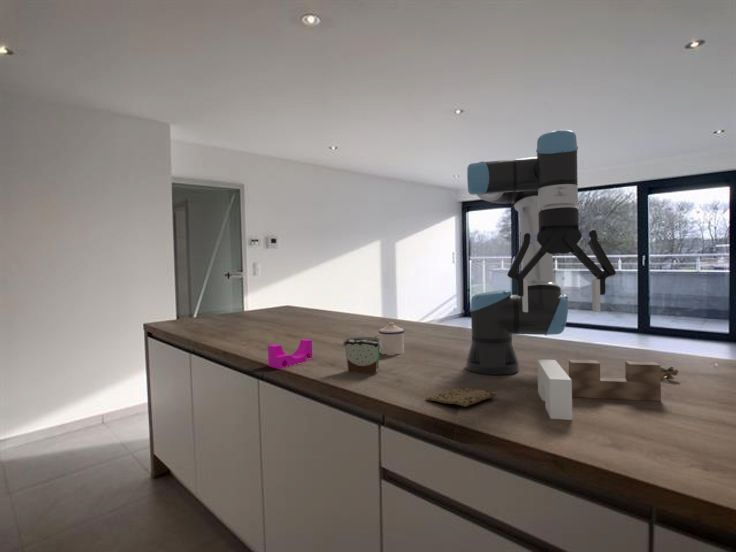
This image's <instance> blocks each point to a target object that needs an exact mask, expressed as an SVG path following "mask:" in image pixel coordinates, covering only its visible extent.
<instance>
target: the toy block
mask: <svg viewBox="0 0 736 552" xmlns="http://www.w3.org/2000/svg"><path fill="white" fill-rule="evenodd" d="M267 356H268V357H267V360H268V361H267V362H268V363H267V365H268V367H271V368H274V369H277V370H282V369H281V368H283V367H287V366H290V365H294V364H298V363H302V362H306V363H307V360H306V359H307V358H312V359H313V340H312V339H308V338H303V339H300V341H299V345H298V348H297V349H296V350H295V351H294V352H293V353H292V354H288V353H287V354H286V353H285V352H284V350H283V347H282V345H280V344H275V343H274V344H270V345H269V344H268V345H267ZM306 357H307V358H306ZM287 368H288V367H287ZM283 369H284V368H283Z"/></svg>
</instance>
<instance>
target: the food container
mask: <svg viewBox="0 0 736 552" xmlns="http://www.w3.org/2000/svg"><path fill="white" fill-rule="evenodd" d="M343 340H344V341H343V344H342V346H343V347H344V350H345V357H346V366H347V371H348V372H352V371H357V372H356V373H361V372H365V373H364V374H370V373H372V375H378V372H379V361H380V348H381V347H382V345H381V341H380V338H379V337H376V338H374V336H373V337H372V336H357V337H349V338H345V339H343Z"/></svg>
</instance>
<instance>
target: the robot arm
mask: <svg viewBox="0 0 736 552" xmlns="http://www.w3.org/2000/svg"><path fill="white" fill-rule="evenodd" d="M536 140H537V141H536V151H535V153H536V156H533V157H523V158H514V159H502V160H491V161H479V162H474V163H473V162H472V163H470V164H468V165H467V170H466V171H467V172H466V175H467V178H466V179H467V191H468V193H469V195H473V196H474V195H476V196H477V197H478V198H480V200H483V201H486V202H489V203H493V204H503V205H504V204H513V209H514V210H515V211H516V212H517V213H519V224H520V225H519V227H520V244H521V246H520V248H519V250H518V252H517V254H516V256H515V257H514V260H513V262H512V264H511V266H510V269H508V271H507V277H508V278H510V279H513V280H515V281H516V294H512V291H511V290H510V289H503V290H501V289H500V290H494V291H486V292H481V293H477V294H474V295H472V297H471V299H470V300H471V301H470V312H471V313H470V314H471V318H470V319H471V345H470V347H469V351H468V353H467V357H466V361H465V362H466V363H465V365H466V369H467V370H468V371H470V372H472V373H476V374H483V375H493V376H494V375H495V376H496V375H497V376H498V375H499V376H500V375H501V376H502V375H511V374H515V373H518V372H519V371H520V361H519V358H518V356H517V353H516V351H515V347H514V345H513V335H538V336H539V335H544V336H549V335H550V336H551V335H554V336H555V335H560V334H562V333H563V332H564V330H565V328H566V327H567V326H566V325H567V321H568V312H569V298H568V297H569V296H568V295H567V294H565V293H562V291H561V287H560V285H558V284H557V283H556V282H555V275H554V260H553V259H554V258H553V257H554V256H553V255H556V254H564V255H565V254H569V253H571V254H572V255H573V256H575V257H576V259H578V260H579V262H581V264H583V266H584V267H585V268H586V269H587V270H588V271H589V272H590V273H591V274H592V275H593V276H594V277H595V278H592V279H591V296H592V297H591V298H592V301H591V302H592V303H591V305H592V312H595V313H601V296H605V294H606V280H607V278H610V277H612V276H615V275H616V274H617V271H616V270H615V268H614V266H613V265H612V263H611V261H610V259H609V257H608V255H607V254H606V252H605V251H604V248H603V247H602V246H601V244H600V242H599V239H598V234H597V233H598V232H597V231H596V230H595V229H591V230H588V231H584V232H581V231H580V226H579V225H580V223H579V209H578V207H576V206H578V205H579V191H578V190H579V189H578V186H579V185H578V182H579V181H578V149H579V146H578V141H577V134H576V133H575V132H574V131H572V130H569V129H559V130H553V131H549V132H546V133H543V134H541V135H540V136H539V137H538V138H537V139H536ZM581 239H583V241H584V242H585V243H588V245H589V248H590V250H591V251H592V253H593V254H594V256H595V258H596V260H597V262H598V263H599V264H600V266H601V268H602V269H601V268H600V267H599V265H597V264H596V263H595V262H594V261H593V260H592V259H591V258H590V256H588V255H587V254H586V252H585V251H583V249H582V248H581V246H579V245H578V243H579V242H580V241H581ZM521 263H522V264H521ZM520 265H522V269H521V270H520V272H519V273H517V271H518V269H519V267H520Z"/></svg>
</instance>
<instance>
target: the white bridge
mask: <svg viewBox="0 0 736 552" xmlns="http://www.w3.org/2000/svg"><path fill="white" fill-rule="evenodd" d="M537 393H538V395H539V397H540V399H541V401H543V402H545V410H546V412H547V415H548V416H549V419H551V420H566V421H567V420H568V421H573V397H572V380H571V379H570V377H569V374H568V373H567V372H566V371H565V370H564V369H563V367H562V366H561V365H560V364H559V362H558V361H557V360H556V359H537Z"/></svg>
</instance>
